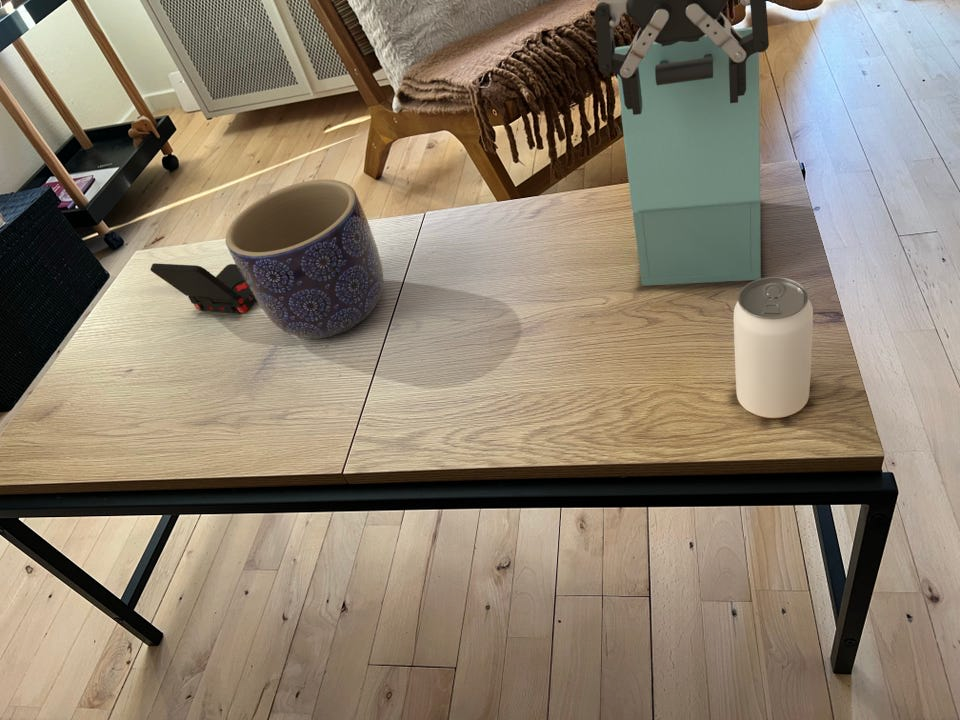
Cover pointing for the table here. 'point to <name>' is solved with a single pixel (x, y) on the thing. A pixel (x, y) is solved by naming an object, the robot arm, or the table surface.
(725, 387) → the table surface
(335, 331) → the planter
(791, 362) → the can
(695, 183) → the lid
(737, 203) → the teal open box
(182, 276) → the black phone stand
